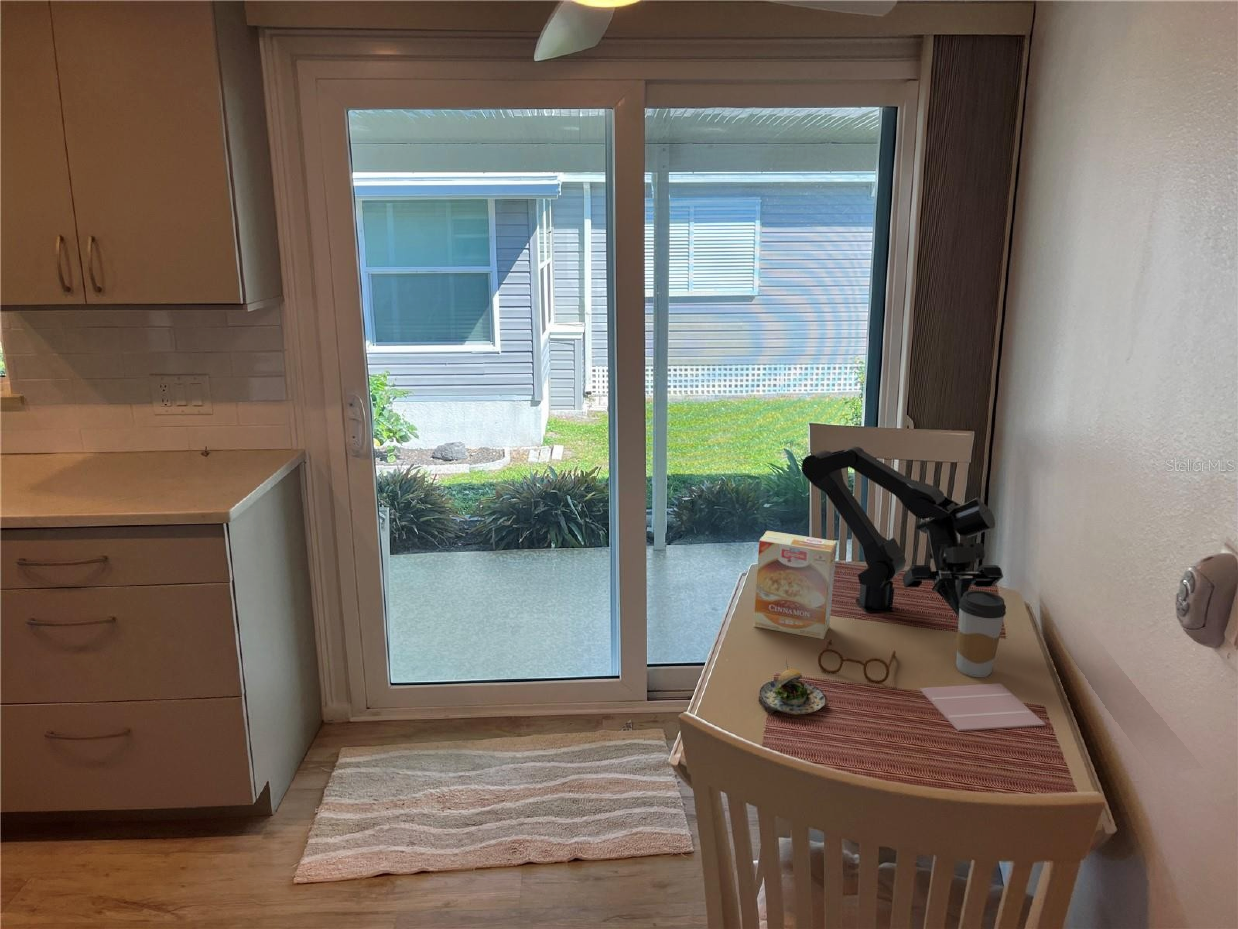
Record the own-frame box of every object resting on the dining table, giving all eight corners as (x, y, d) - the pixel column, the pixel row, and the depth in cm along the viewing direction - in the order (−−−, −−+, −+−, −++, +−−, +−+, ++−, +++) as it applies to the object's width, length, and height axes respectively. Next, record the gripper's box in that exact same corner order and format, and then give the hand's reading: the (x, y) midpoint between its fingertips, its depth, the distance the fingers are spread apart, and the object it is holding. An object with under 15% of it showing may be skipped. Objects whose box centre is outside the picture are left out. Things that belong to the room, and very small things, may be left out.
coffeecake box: (752, 627, 189) (758, 539, 183) (760, 614, 195) (766, 529, 190) (824, 640, 183) (832, 551, 178) (829, 626, 190) (837, 539, 184)
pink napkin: (957, 731, 151) (958, 729, 151) (919, 689, 164) (919, 687, 164) (1045, 725, 153) (1045, 723, 153) (1000, 685, 167) (1000, 683, 167)
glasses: (816, 672, 171) (818, 648, 170) (829, 644, 182) (831, 622, 181) (887, 688, 166) (890, 663, 164) (896, 658, 177) (898, 635, 176)
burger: (766, 722, 153) (769, 683, 151) (752, 688, 164) (754, 651, 162) (835, 721, 154) (838, 682, 152) (815, 687, 165) (819, 650, 163)
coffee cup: (995, 664, 175) (1006, 593, 171) (998, 684, 167) (1009, 610, 163) (950, 656, 177) (959, 586, 173) (950, 676, 170) (960, 602, 166)
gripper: (914, 527, 178) (929, 601, 170) (1005, 527, 179) (1024, 601, 171) (896, 550, 188) (909, 621, 180) (982, 550, 189) (1000, 621, 181)
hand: (961, 616), depth 178 cm, fingers closed
